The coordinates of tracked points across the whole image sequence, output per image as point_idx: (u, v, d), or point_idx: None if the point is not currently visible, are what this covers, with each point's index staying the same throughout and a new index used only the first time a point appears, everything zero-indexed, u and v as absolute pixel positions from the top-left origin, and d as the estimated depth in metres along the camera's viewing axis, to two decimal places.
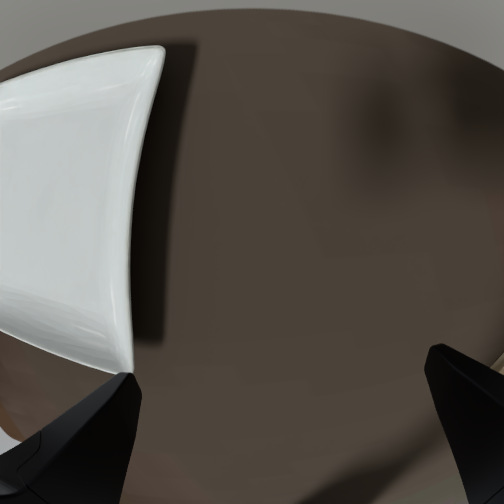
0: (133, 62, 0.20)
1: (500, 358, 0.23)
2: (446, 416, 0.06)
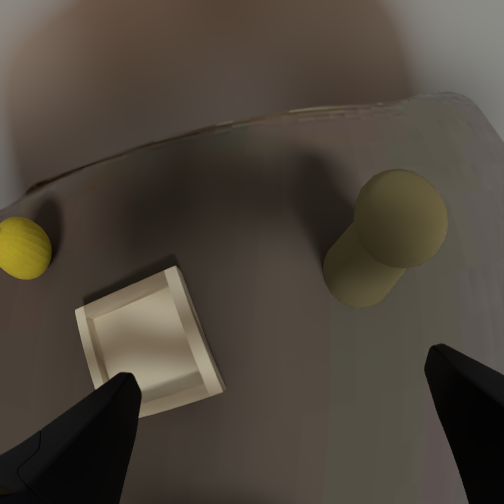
0: None
1: None
2: (446, 416, 0.06)
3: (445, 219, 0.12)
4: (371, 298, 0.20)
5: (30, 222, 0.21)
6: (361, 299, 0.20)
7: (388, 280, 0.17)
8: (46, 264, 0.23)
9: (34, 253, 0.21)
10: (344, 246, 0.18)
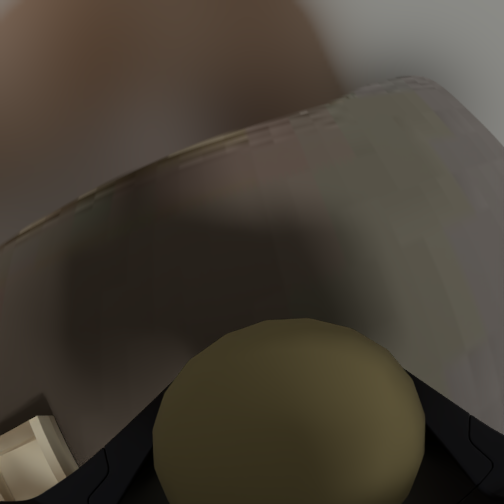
0: None
1: (2, 484, 0.10)
2: None
3: (413, 468, 0.03)
4: None
5: None
6: None
7: None
8: None
9: None
10: None
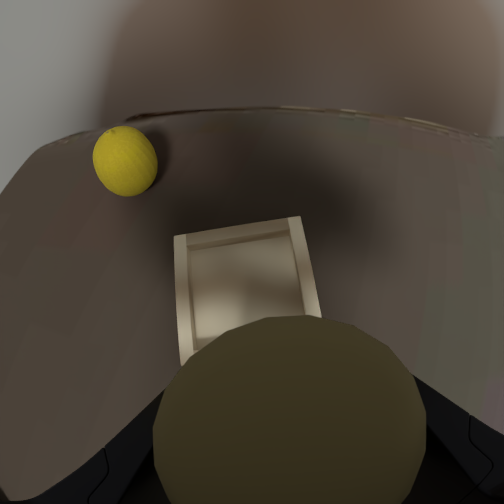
0: None
1: None
2: None
3: (415, 466, 0.03)
4: None
5: None
6: None
7: None
8: (148, 185, 0.25)
9: (144, 167, 0.23)
10: None
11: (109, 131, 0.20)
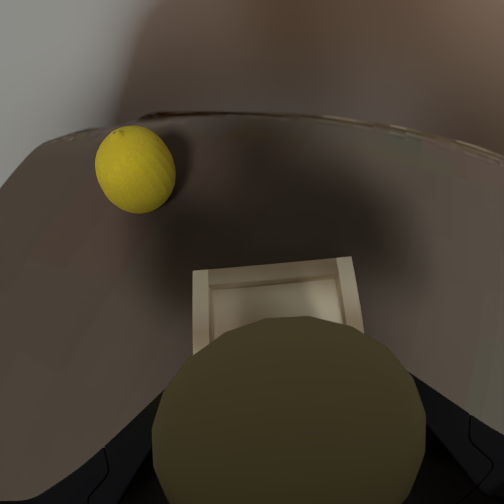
0: None
1: None
2: None
3: (414, 467, 0.03)
4: None
5: (163, 142, 0.19)
6: None
7: None
8: (163, 201, 0.21)
9: (159, 180, 0.18)
10: None
11: (116, 131, 0.16)
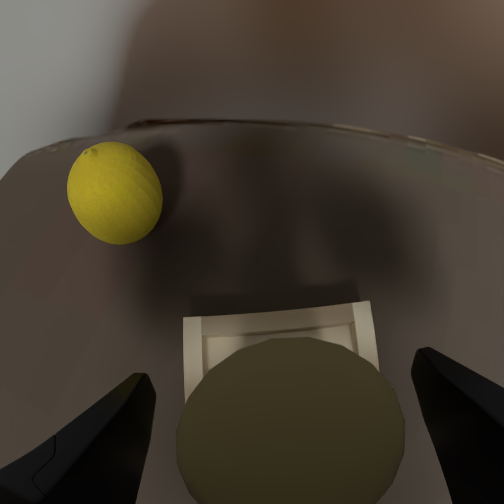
0: None
1: None
2: (432, 421, 0.06)
3: (393, 464, 0.04)
4: None
5: (146, 160, 0.16)
6: None
7: None
8: (148, 231, 0.17)
9: (141, 208, 0.15)
10: None
11: (88, 151, 0.13)
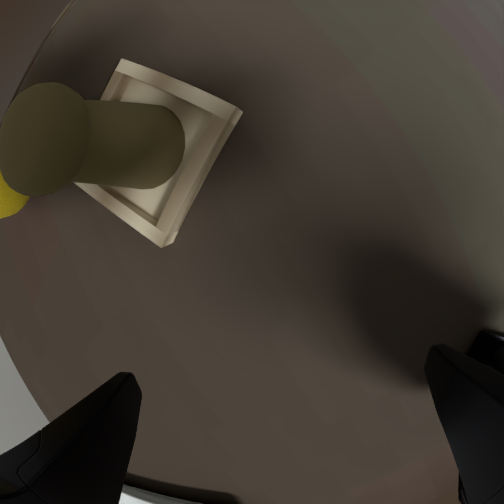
0: None
1: None
2: (446, 416, 0.06)
3: (37, 97, 0.08)
4: (161, 157, 0.16)
5: None
6: (160, 167, 0.17)
7: (125, 149, 0.13)
8: None
9: None
10: None
11: None
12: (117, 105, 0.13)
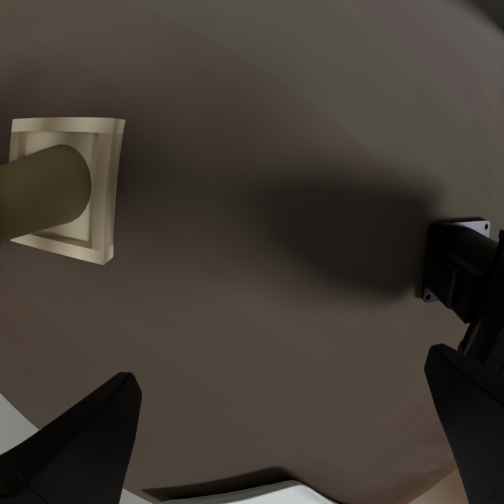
0: None
1: None
2: (446, 416, 0.06)
3: None
4: (71, 188, 0.16)
5: None
6: (74, 197, 0.17)
7: (37, 195, 0.13)
8: None
9: None
10: None
11: None
12: (18, 162, 0.13)
